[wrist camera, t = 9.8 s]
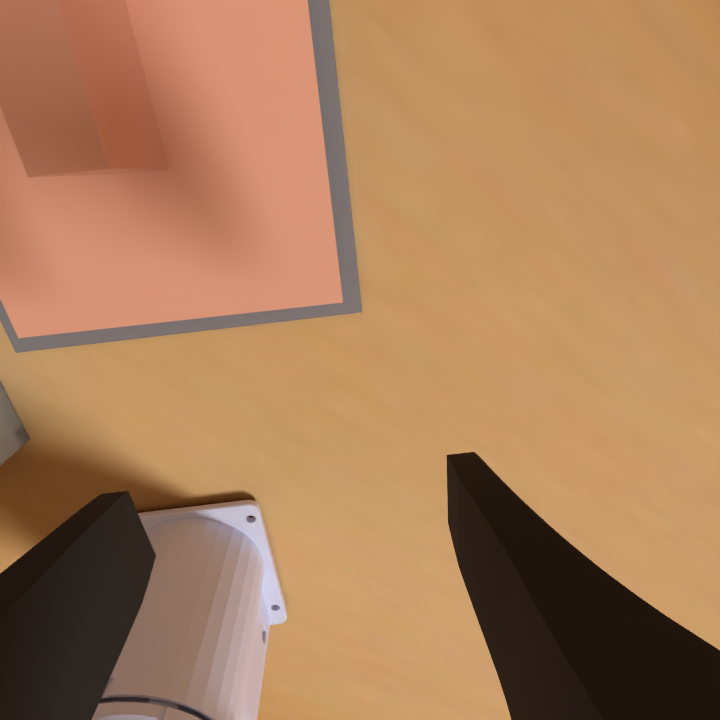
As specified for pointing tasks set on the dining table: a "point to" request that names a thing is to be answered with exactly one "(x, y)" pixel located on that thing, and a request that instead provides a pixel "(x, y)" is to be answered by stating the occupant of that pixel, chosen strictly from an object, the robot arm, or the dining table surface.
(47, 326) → the lid
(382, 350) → the dining table surface
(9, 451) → the tub
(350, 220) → the mat
